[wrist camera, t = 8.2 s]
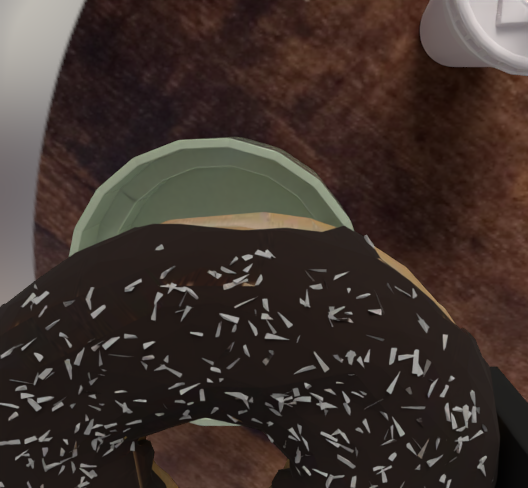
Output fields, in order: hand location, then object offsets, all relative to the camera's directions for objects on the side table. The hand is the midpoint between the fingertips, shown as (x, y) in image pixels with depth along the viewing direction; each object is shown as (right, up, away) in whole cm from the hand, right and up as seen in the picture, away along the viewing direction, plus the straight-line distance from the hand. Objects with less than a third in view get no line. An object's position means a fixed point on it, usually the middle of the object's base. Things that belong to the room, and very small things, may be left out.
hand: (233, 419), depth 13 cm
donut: (0, 0, 0) cm, 0 cm away
